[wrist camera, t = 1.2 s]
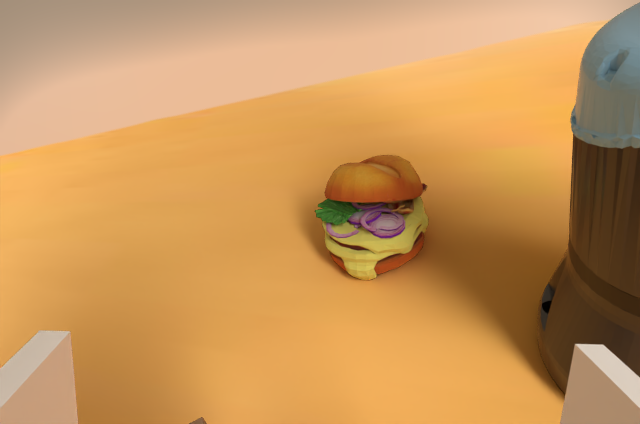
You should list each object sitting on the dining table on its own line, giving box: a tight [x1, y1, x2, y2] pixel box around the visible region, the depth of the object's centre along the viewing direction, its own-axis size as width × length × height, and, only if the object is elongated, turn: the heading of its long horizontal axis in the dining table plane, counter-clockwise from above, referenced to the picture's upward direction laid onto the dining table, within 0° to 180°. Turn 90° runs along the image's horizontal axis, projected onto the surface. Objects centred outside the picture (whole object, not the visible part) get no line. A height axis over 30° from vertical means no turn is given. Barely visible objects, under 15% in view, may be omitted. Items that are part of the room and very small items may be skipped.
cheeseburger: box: [315, 155, 429, 280], centre depth 49 cm, size 10×11×10 cm
